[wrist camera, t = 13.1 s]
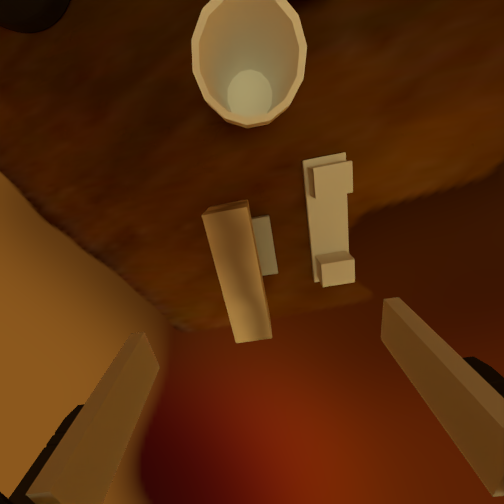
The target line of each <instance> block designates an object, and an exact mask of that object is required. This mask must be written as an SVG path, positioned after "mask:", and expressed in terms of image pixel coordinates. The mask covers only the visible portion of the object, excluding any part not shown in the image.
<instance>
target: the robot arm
mask: <svg viewBox="0 0 504 504" xmlns="http://www.w3.org/2000/svg"><path fill="white" fill-rule="evenodd" d="M69 1H70V0H0V26H2V27H4V28H7V29H10V30H13V31H18V32H37V31H41V30H44V29H46V28H48V27H50V26H51V25H53V24H54V23H55V22H56V21H57V20H58V19H59V18H60V17H61V16H62V14H63V13H64V11H65V10H66V8H67V6H68V3H69ZM381 340H382V341H383V343H384V344H385V346H386V347H387V349H388V350H389V351H390V353H391V354H392V355H393V357H394V358H395V360H396V361H397V363H398V364H399V365H400V367H401V368H402V370H403V371H404V372H405V374H406V375H407V377H408V378H409V380H410V381H411V382H412V384H413V385H414V386H415V388H416V389H417V391H418V392H419V394H420V395H421V396H422V398H423V399H424V401H425V402H426V403H427V405H428V406H429V408H430V409H431V410H432V412H433V413H434V415H435V416H436V418H437V419H438V420H439V422H440V423H441V425H442V426H443V427H444V429H445V430H446V432H447V433H448V434H449V436H450V437H451V438H452V440H453V441H454V443H455V444H456V446H457V447H458V449H459V450H460V451H461V453H462V454H463V456H464V457H465V458H466V460H467V461H468V463H469V464H470V465H471V467H472V468H473V470H474V471H475V472H476V474H477V475H478V477H479V478H480V480H481V481H482V482H483V484H484V485H485V486H486V488H487V489H488V491H489V492H490V494H491V495H492V496H493V497H494V496H504V378H503V377H502V376H501V375H500V374H499V373H498V372H497V371H496V370H494V369H493V368H492V367H491V366H489V365H487V364H485V363H484V362H482V361H480V360H479V359H477V358H475V357H466V358H461V357H460V356H459V355H458V354H457V353H456V352H455V351H454V350H453V349H452V348H451V347H450V346H449V345H448V344H447V343H446V342H445V341H444V340H442V338H440V337H439V336H438V335H437V334H436V333H435V332H434V331H433V330H432V329H431V328H430V327H429V326H428V325H427V324H426V323H425V322H424V321H423V320H422V319H421V318H420V317H419V316H417V314H416V313H414V312H413V311H412V310H411V309H410V308H409V307H408V306H407V305H406V304H405V303H404V302H403V301H402V300H401V299H400V298H399V297H397V298H389V299H384V304H383V316H382V329H381ZM159 368H160V367H159V364H158V362H157V360H156V358H155V355H154V353H153V351H152V348H151V346H150V344H149V341H148V339H147V337H146V334H145V332H139V333H132V334H131V335H130V336H129V338H128V339H127V341H126V342H125V344H124V346H123V347H122V348H121V350H120V351H119V353H118V354H117V356H116V357H115V359H114V360H113V362H112V363H111V365H110V367H109V368H108V370H107V371H106V373H105V374H104V376H103V377H102V379H101V380H100V382H99V383H98V385H97V386H96V388H95V389H94V391H93V393H92V394H91V396H90V397H89V398H88V400H87V402H86V403H85V404H84V405H78V406H77V407H76V408H75V409H74V410H73V411H72V412H71V413H70V414H69V415H68V416H67V417H66V418H65V419H64V420H63V422H62V423H61V425H60V426H59V427H58V429H57V430H56V432H55V435H53V436H52V437H51V439H50V441H49V442H48V443H47V446H46V448H44V449H43V450H42V452H41V453H40V455H39V456H38V458H37V459H36V460H35V462H34V463H33V465H32V466H31V468H30V469H29V471H28V472H27V473H26V475H25V476H24V478H23V479H22V480H21V482H20V483H19V485H18V486H17V488H16V489H15V490H14V492H13V493H12V495H11V496H10V497H9V499H8V498H7V497H5V496H4V495H3V494H2V493H1V492H0V504H102V503H103V501H104V499H105V496H106V494H107V492H108V489H109V487H110V484H111V482H112V480H113V477H114V475H115V473H116V470H117V468H118V465H119V463H120V461H121V458H122V456H123V454H124V451H125V449H126V446H127V444H128V442H129V439H130V437H131V435H132V432H133V430H134V427H135V425H136V422H137V420H138V418H139V415H140V413H141V411H142V408H143V406H144V404H145V401H146V399H147V396H148V394H149V392H150V389H151V387H152V384H153V382H154V380H155V377H156V375H157V373H158V370H159Z"/></svg>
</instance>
